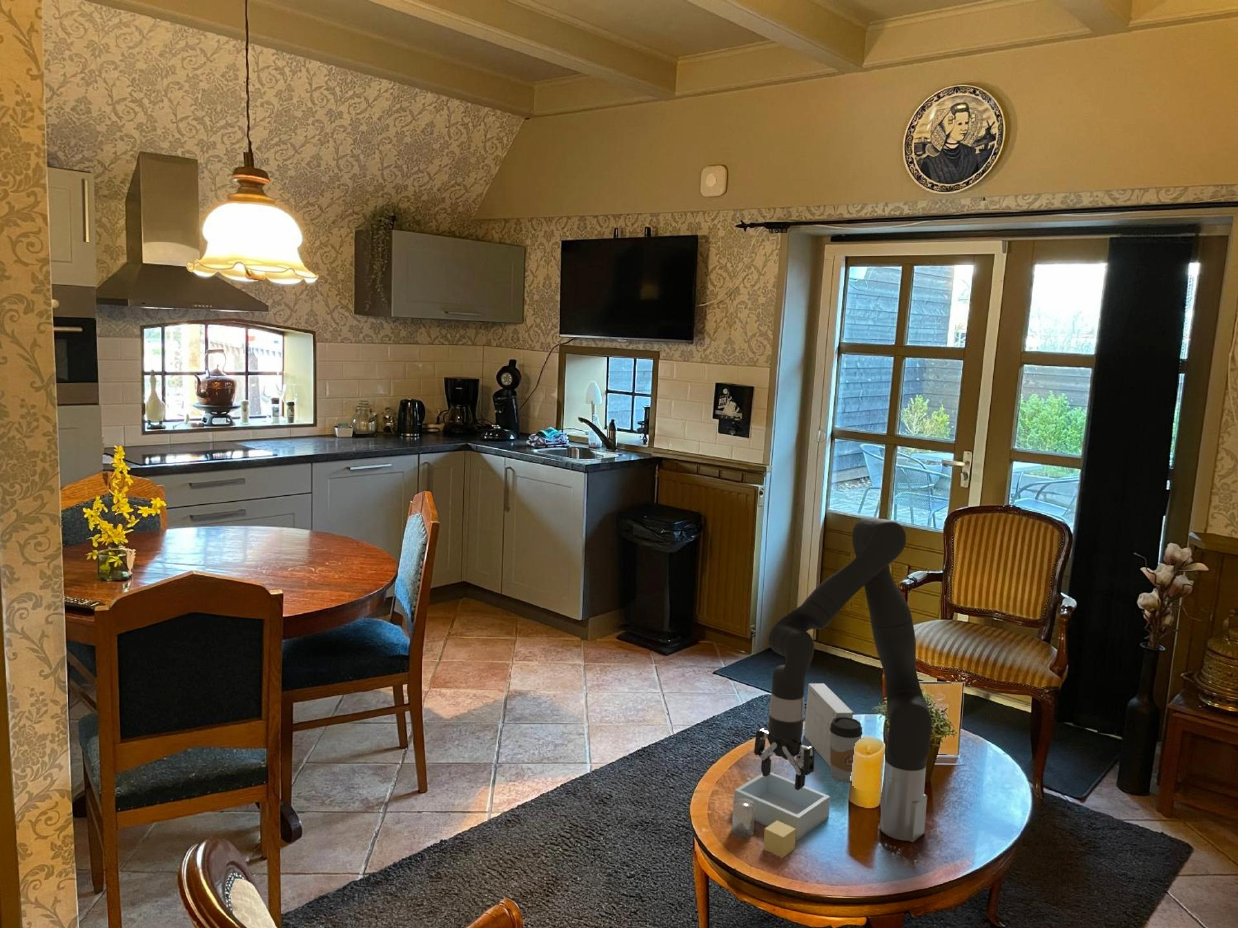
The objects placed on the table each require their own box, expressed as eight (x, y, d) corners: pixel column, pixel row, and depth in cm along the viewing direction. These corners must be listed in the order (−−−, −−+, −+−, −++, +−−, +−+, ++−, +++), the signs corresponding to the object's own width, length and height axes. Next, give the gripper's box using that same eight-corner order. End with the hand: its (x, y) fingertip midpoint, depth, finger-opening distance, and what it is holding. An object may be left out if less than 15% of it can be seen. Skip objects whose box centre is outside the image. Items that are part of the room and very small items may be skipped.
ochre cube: (794, 849, 210) (795, 828, 209) (782, 857, 206) (783, 837, 206) (775, 840, 213) (777, 820, 213) (763, 848, 210) (764, 828, 209)
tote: (828, 817, 224) (830, 796, 223) (797, 839, 214) (798, 817, 213) (766, 790, 236) (767, 770, 235) (733, 810, 226) (734, 789, 225)
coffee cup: (835, 785, 239) (839, 730, 237) (821, 770, 247) (824, 717, 245) (865, 782, 241) (868, 728, 239) (849, 767, 249) (853, 714, 247)
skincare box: (850, 768, 249) (854, 712, 247) (831, 769, 248) (834, 713, 246) (820, 734, 270) (824, 681, 267) (803, 734, 269) (806, 682, 266)
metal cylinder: (757, 831, 217) (759, 803, 216) (745, 839, 213) (746, 811, 212) (740, 823, 220) (741, 795, 219) (727, 831, 216) (729, 803, 215)
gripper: (823, 718, 203) (818, 787, 206) (769, 698, 213) (765, 765, 215) (805, 728, 198) (800, 799, 200) (750, 708, 207) (746, 776, 210)
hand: (782, 781), depth 208 cm, fingers open, 8 cm apart
